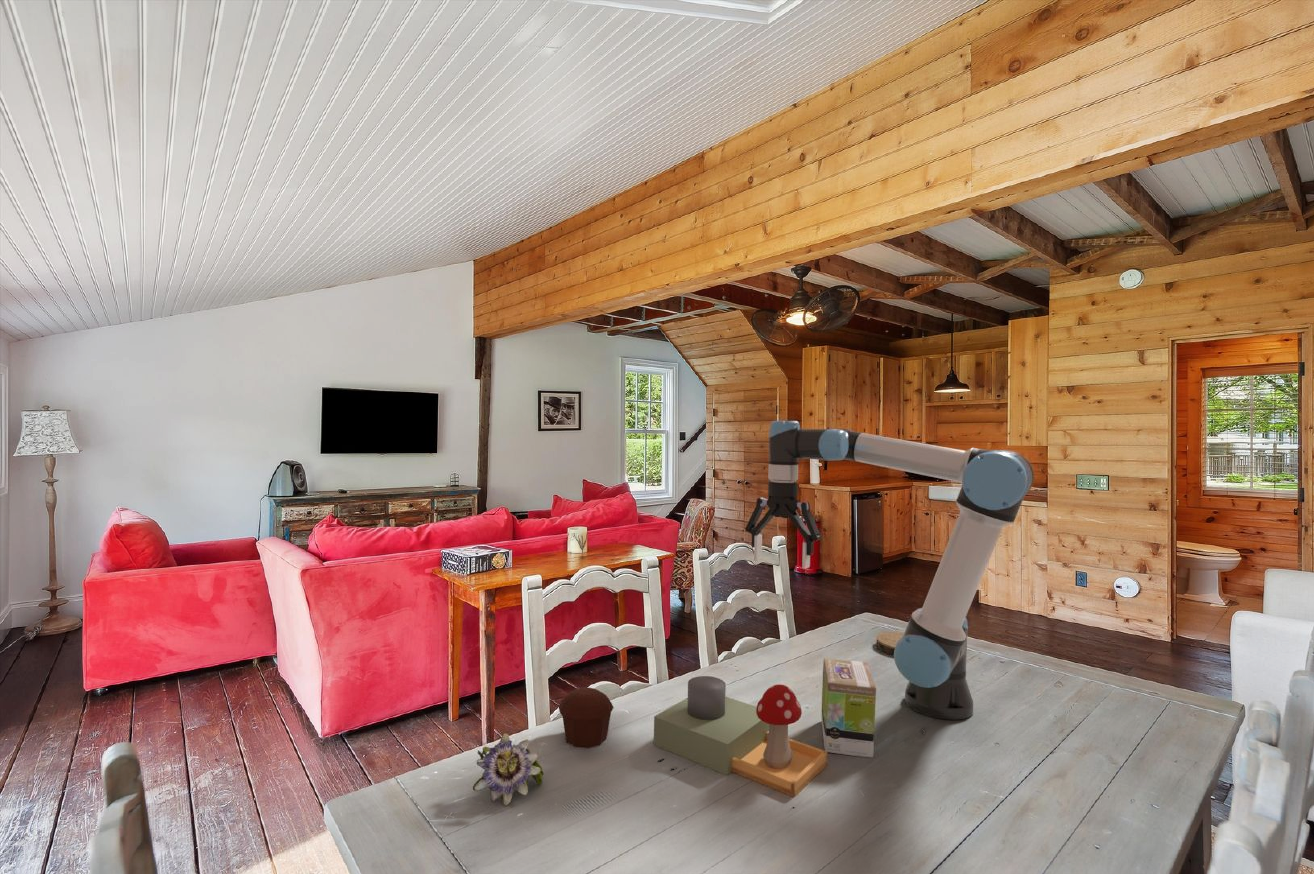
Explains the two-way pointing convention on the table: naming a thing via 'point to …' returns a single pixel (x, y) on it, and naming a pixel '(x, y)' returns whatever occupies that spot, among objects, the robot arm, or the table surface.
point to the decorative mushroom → (778, 723)
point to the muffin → (586, 717)
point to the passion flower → (507, 769)
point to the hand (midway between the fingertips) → (781, 563)
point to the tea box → (848, 707)
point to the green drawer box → (731, 738)
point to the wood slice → (888, 641)
